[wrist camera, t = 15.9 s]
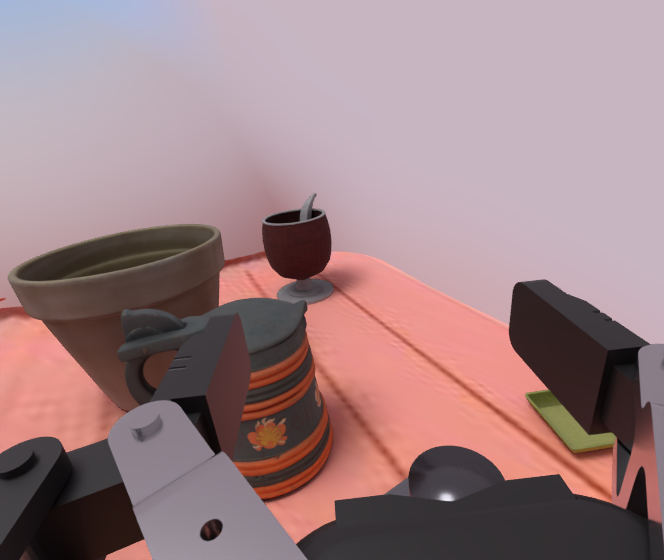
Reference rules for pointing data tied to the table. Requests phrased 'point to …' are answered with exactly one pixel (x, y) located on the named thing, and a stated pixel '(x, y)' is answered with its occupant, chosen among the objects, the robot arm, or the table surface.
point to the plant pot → (120, 293)
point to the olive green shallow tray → (567, 424)
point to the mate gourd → (299, 251)
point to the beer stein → (251, 387)
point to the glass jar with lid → (451, 473)
